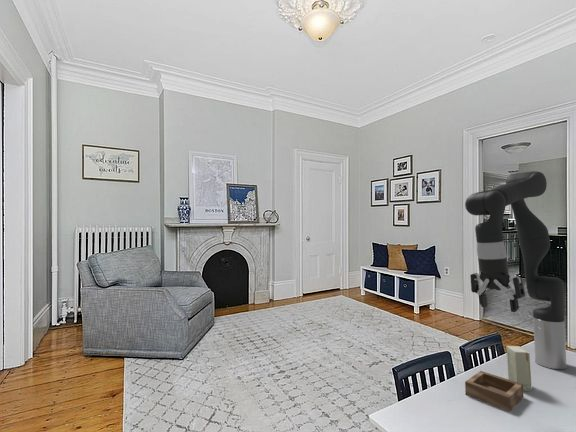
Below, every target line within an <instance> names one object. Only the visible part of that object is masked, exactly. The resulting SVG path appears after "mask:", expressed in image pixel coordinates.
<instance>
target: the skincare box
mask: <svg viewBox="0 0 576 432" xmlns="http://www.w3.org/2000/svg"><path fill="white" fill-rule="evenodd" d="M506 361H507V362H506V363H507V376H508V378H507V379H508V380H511V381H515V382H518V383H521V384H523V392H524V391H527V392H532V390H533V389H532V375H531V373H532V371H531V359H530V352H529V351H528V350H526V349H525V348H523V347H522V346H517V345H506Z"/></svg>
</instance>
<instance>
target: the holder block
mask: <svg viewBox="0 0 576 432" xmlns="http://www.w3.org/2000/svg"><path fill="white" fill-rule="evenodd" d="M464 387H465V390H464V393H465V396H468V397H471V398H474V399H476V400H479V401H481V402H483V403H487V404H490V405H491V406H493V407H497V408H499V409H502V410H504V411H507V412H512V410H513V409H514V408H515V407H516V406H517V405H518V404H519V403H520V402H521V401H522V400H523V398H524V397H525V396H524V390H523V384H521V383H518V382H515V381H511V380H508V378H505V377H502V376H498V375H495V374H492V373H489V372H485V371H483V370H479V371H478V372H476V373H475V374H474V375H472V376H471V377H469V378H468V379H466V380H465V381H464Z"/></svg>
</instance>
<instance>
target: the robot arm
mask: <svg viewBox="0 0 576 432" xmlns="http://www.w3.org/2000/svg"><path fill="white" fill-rule="evenodd" d="M547 182H548V181H547V178H546V176H545V174H544V173H542V172H541V171H537V170H536V171H525V172H517V173H511V174H509V175H508V176H507V177H506V179H505V183H503V184H499V185H498V186H495V187H492V188H490V189H487V190H483V191H479V192H474V193H472V194H470V195H468V197H467V198H466V200H465V202H464V205H465V206H464V207H465V209H466V211H467V213H469V214H470V215H473V216H488V215H489V216H488V219H487V221H483V222H479V223H478V224H476V225H475V227H474V230H475V237H476V253H477V254H476V255H477V263H478V268H479V271H480V273H477V272H475V273H472V274H470V288H471V289H470V291H471V292H472V293H475V294H477V295H478V301H479V305H480V306H481V307H482V308H486V307H488V300H487V299H488V298H487V294H486V292H487V291H488V290H495V291H502V292H503V294H505V295H506V296H507V297H508V298H509V307H510V312H511V313H517V312H518V310H520V309H519V308H520V305H519V299H522V298H524V297H526V294H525V288H524V283H523V278H522V277H521V276H510V275H509V264H508V256H507V255H508V254H507V250H506V245H505V242H504V235H503V224H504V223H503V221H504V215H505V212H506V211H505V210H506V207H507V206H510V205H511V210H512V212H513V213H512V214H513V217H514V221H515V227H516V232H517V238H518V239H517V240H518V243H519V247H520V251H521V255H522V262H523V268H524V277H525V287H526V290H527V295H528V296H529V298H531V299H534V300H538V301H545V302H550V305H549V306H546V307H539V308H538V307H537V308H535V309H533V311H532V320H533V321H532V322H533V341H534V342H533V345H534V361H535V363H536V364H538V365H540V366H542V367H545V368H549V369H554V370H566V369H567V368H566V367H567V350H566V349H567V348H566V347H567V346H566V344H567V343H566V328H565V284H564V281H563V280H562V279H561V278H559V277H553V276H543V275H538V274H539V273H538V267H539V265H540V263H541V262H542V260H543V259H544V258H545V256H547V254H548V252H549V251H550V248H551V239H550V235H549V234H550V233H549V229H548V227H547V226H546V225H545V223H544V222H543V221H542V220H541V219H539V218H538V216H536V215H535V214H534V213H533V212H532V211H531V210H530V209H529V207H528V205H527V204H526V201H525V199H528V198H535V197H540V196H542V195H544V193H545V192H546V191H547V185H548V184H547ZM480 281H482V284H481V286H480ZM510 282H511V284H512V285H513V287H514V288H513V287H512V286H511V284H510Z"/></svg>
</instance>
